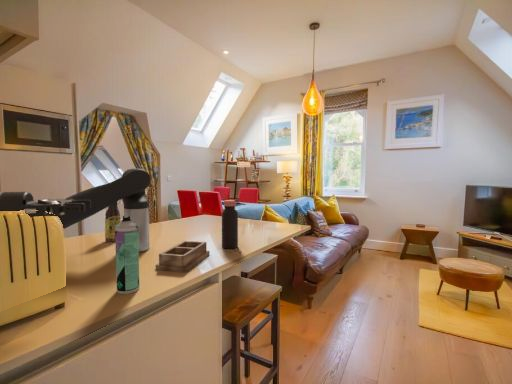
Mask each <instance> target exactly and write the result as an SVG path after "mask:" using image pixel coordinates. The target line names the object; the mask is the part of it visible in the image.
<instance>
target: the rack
mask: <svg viewBox="0 0 512 384" xmlns="http://www.w3.org/2000/svg"><path fill="white" fill-rule="evenodd" d="M208 256H210V250H207V241H194V240H184V241H182V242H180V243H178V244H176V245H174V246H171V247H170V248H168V249H166V250H164V251H162V252H160V253H158V263H157V264H155V270H157V271H166V272H167V271H168V272H180V273H188V272H189V271H190V270H192V269H193V268H194V267H195V266H197V265H198V264H199V263H200V262H202V261H203V260H205V259H206V258H207V257H208Z"/></svg>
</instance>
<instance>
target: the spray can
mask: <svg viewBox="0 0 512 384" xmlns="http://www.w3.org/2000/svg"><path fill="white" fill-rule="evenodd" d="M115 227H116V228H115V242H114V243H115V269H116V270H115V271H116V292H117V294H121V295H128V294H133V293H135V292H137V291H138V290H140V255H139V253H140V252H139V247H138V227H137V224H136V223H134V222H132V220H131V219H130V216H124V215H123V216H122V219H121V220H120V223H119V224H118V225H116V226H115Z"/></svg>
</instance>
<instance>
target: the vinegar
mask: <svg viewBox="0 0 512 384" xmlns="http://www.w3.org/2000/svg"><path fill="white" fill-rule="evenodd" d="M223 207H224V209H223V210H222V211H221V247H222V248H223V249H225V250H232V249H233V250H234V249H236V248H238V246H239V244H238V243H239V238H238V237H239V235H238V234H239V233H238V232H239V229H238V228H239V226H238V225H239V212H238V211H237V209H236V200H235V199H234V200H233V199H226V200H223Z"/></svg>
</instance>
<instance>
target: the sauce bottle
mask: <svg viewBox="0 0 512 384" xmlns="http://www.w3.org/2000/svg"><path fill="white" fill-rule="evenodd" d="M118 202H119V201H117V202H115V203H114V204H112V205H110V206H109V207H107V210H106V212H105V218H104V220H105V221H104V225H105V226H104V238H105V240H104V241H105V242H107V243H115V228H116V227H115V226H116V225H118V224H119V223H121V214H120V210H119V208H118Z"/></svg>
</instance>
